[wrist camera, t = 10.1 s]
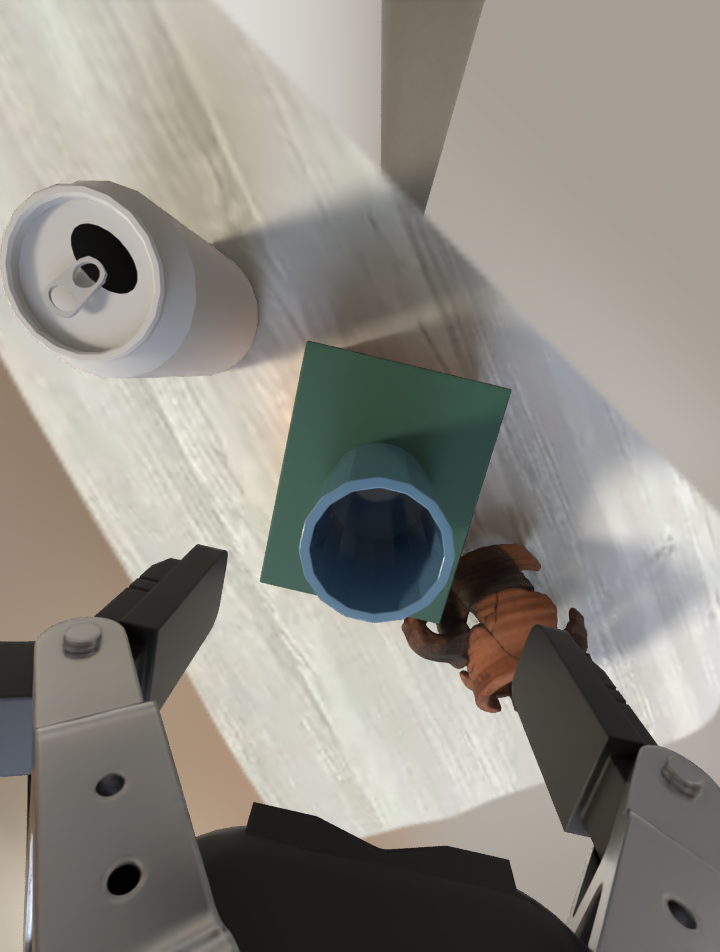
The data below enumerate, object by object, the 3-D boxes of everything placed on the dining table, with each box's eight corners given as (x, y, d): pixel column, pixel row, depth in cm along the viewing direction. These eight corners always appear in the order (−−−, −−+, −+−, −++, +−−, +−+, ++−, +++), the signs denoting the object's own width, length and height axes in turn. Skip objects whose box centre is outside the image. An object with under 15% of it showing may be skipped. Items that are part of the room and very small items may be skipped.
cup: (338, 431, 23) (317, 461, 16) (442, 456, 23) (473, 498, 16) (316, 529, 25) (286, 603, 17) (415, 553, 25) (431, 637, 17)
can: (286, 315, 28) (220, 277, 16) (208, 400, 29) (94, 420, 18) (197, 221, 27) (56, 106, 15) (120, 313, 28) (-63, 274, 17)
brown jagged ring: (567, 533, 31) (642, 645, 25) (515, 610, 37) (565, 715, 31) (400, 536, 28) (438, 663, 22) (374, 619, 34) (398, 736, 28)
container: (321, 346, 28) (306, 340, 22) (485, 385, 28) (512, 389, 22) (281, 543, 31) (259, 582, 26) (428, 577, 31) (439, 624, 26)
